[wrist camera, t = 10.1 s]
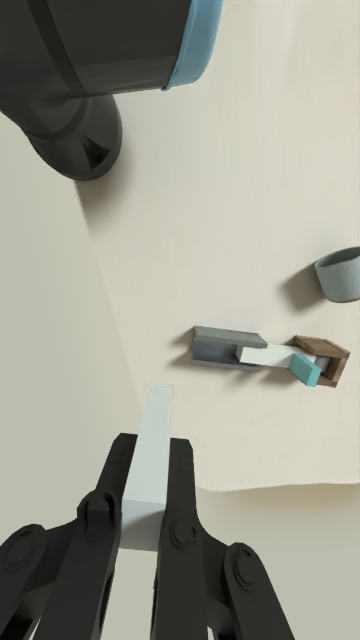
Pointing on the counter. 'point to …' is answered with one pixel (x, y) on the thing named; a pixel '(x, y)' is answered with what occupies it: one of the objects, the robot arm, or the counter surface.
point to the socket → (325, 349)
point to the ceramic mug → (340, 275)
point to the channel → (223, 348)
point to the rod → (286, 360)
